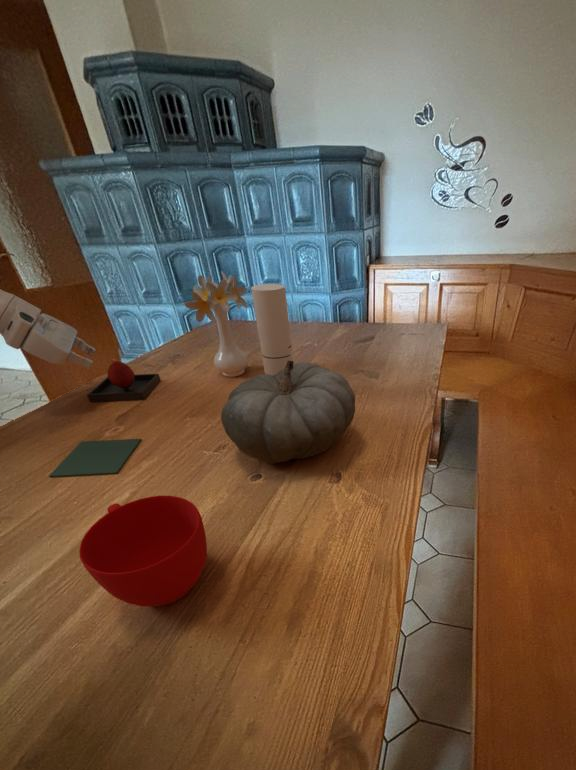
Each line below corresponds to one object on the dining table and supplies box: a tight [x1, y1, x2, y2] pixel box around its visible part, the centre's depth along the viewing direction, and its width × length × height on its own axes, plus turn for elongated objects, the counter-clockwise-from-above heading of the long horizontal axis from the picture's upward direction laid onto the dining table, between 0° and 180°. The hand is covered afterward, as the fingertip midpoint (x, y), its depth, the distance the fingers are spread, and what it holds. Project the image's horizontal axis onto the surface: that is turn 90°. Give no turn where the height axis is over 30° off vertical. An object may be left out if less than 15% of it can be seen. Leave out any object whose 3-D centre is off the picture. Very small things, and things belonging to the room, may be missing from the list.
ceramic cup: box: [78, 495, 208, 607], centre depth 49 cm, size 13×17×10 cm
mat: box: [48, 438, 142, 478], centre depth 75 cm, size 12×12×1 cm
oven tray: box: [86, 373, 162, 403], centre depth 100 cm, size 13×12×2 cm
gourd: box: [220, 360, 356, 464], centre depth 73 cm, size 25×25×17 cm
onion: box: [107, 358, 136, 390], centre depth 97 cm, size 6×6×8 cm
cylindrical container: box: [250, 283, 295, 376], centre depth 89 cm, size 7×7×25 cm
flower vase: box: [184, 270, 249, 378], centre depth 101 cm, size 13×18×25 cm
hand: (92, 358), depth 93 cm, fingers open, 8 cm apart
